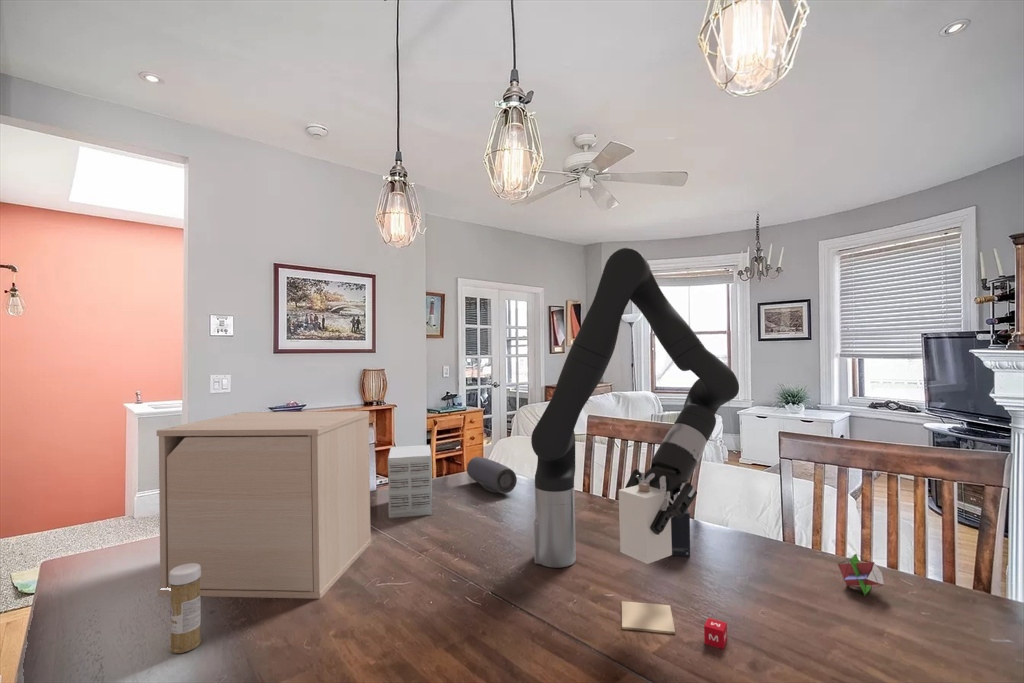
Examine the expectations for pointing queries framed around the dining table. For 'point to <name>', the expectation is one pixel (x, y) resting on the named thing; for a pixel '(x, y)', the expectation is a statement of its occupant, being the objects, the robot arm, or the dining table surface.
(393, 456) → the supplement box
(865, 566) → the geometric puzzle
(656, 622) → the coaster
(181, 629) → the sprinkles bottle
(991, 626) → the dining table surface
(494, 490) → the bluetooth speaker
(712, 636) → the dice
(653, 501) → the white knobbed pillar
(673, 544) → the small box
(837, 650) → the dining table surface
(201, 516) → the cabinet
